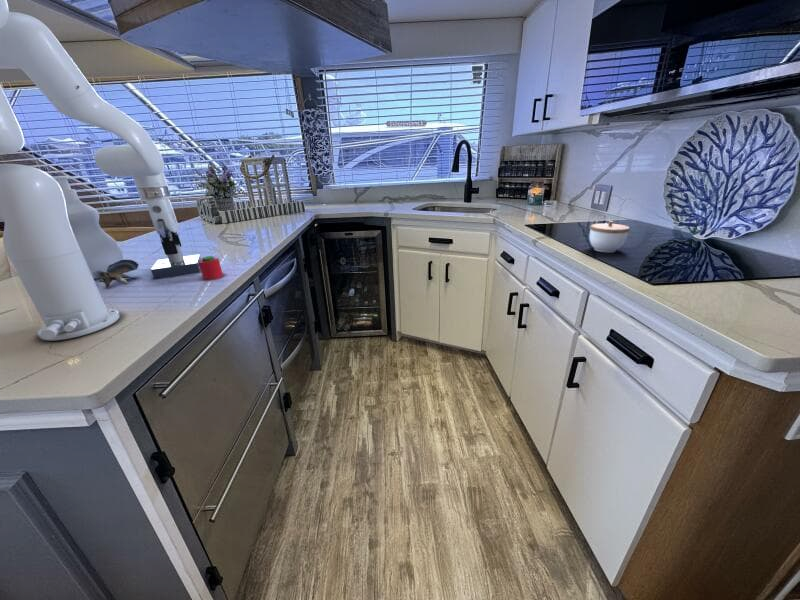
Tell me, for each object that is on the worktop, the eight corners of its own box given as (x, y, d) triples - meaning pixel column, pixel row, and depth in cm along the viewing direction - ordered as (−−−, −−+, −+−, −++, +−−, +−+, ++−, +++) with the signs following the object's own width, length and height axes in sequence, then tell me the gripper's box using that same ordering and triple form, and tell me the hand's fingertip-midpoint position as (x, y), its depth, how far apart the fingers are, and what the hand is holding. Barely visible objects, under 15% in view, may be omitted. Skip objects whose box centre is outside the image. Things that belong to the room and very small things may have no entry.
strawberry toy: (222, 277, 94) (217, 258, 92) (202, 281, 92) (196, 260, 90) (223, 273, 99) (217, 254, 96) (203, 276, 97) (198, 256, 94)
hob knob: (183, 261, 101) (178, 245, 99) (168, 263, 99) (162, 247, 97) (184, 258, 104) (179, 242, 102) (170, 260, 103) (164, 244, 101)
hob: (199, 272, 100) (196, 262, 99) (154, 279, 96) (150, 269, 94) (202, 262, 110) (199, 253, 109) (160, 268, 106) (157, 259, 104)
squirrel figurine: (123, 284, 89) (146, 268, 96) (97, 265, 86) (124, 250, 93) (110, 297, 91) (134, 281, 99) (85, 279, 88) (112, 263, 96)
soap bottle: (99, 283, 94) (53, 176, 83) (59, 285, 94) (6, 178, 82) (139, 266, 110) (104, 174, 98) (104, 268, 109) (65, 175, 98)
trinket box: (631, 253, 100) (639, 223, 97) (596, 254, 101) (603, 224, 97) (611, 245, 110) (618, 217, 106) (580, 246, 111) (585, 219, 107)
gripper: (165, 195, 88) (185, 255, 95) (173, 190, 102) (190, 243, 109) (132, 197, 85) (155, 259, 92) (145, 192, 99) (164, 246, 106)
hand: (174, 250), depth 101 cm, fingers open, 9 cm apart
